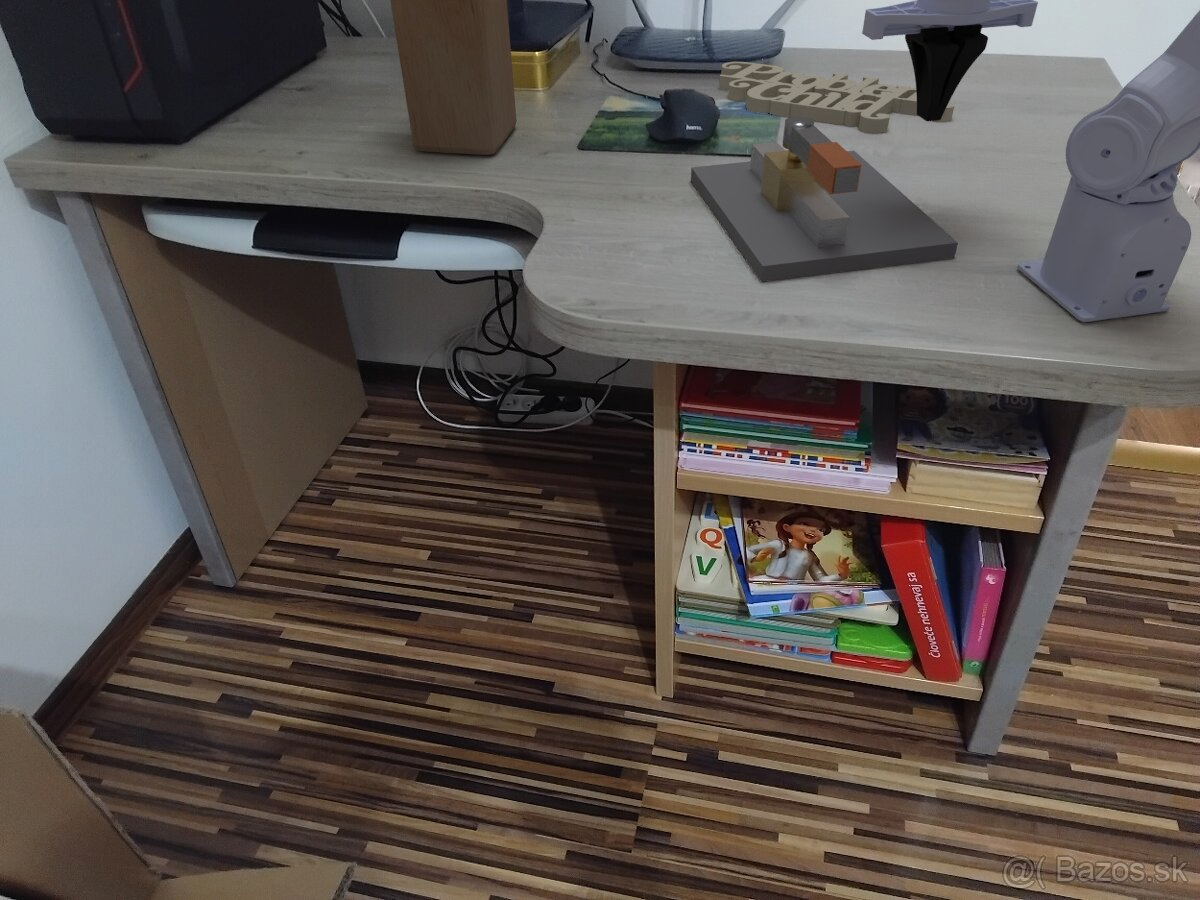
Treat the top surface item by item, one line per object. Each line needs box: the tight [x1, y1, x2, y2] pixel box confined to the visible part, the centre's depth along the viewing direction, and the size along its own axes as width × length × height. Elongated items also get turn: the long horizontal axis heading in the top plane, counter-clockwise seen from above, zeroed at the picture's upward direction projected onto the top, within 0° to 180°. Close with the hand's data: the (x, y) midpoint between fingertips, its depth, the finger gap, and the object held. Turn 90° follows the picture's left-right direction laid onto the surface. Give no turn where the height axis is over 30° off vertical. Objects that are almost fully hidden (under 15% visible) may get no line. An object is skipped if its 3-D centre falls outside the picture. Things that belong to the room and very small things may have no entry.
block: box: [389, 0, 517, 156], centre depth 97 cm, size 10×10×20 cm
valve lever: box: [782, 117, 862, 195], centre depth 77 cm, size 12×3×2 cm, turn 11°
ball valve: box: [750, 141, 850, 248], centre depth 83 cm, size 18×4×5 cm, turn 11°
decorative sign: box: [718, 61, 955, 135], centre depth 109 cm, size 31×2×15 cm
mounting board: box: [690, 150, 959, 283], centre depth 85 cm, size 22×18×2 cm
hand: (928, 117), depth 79 cm, fingers closed
